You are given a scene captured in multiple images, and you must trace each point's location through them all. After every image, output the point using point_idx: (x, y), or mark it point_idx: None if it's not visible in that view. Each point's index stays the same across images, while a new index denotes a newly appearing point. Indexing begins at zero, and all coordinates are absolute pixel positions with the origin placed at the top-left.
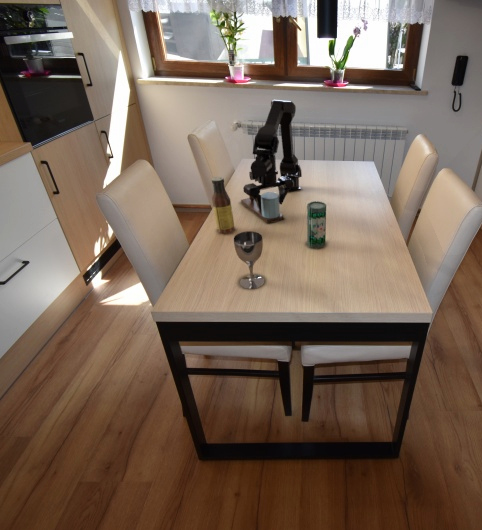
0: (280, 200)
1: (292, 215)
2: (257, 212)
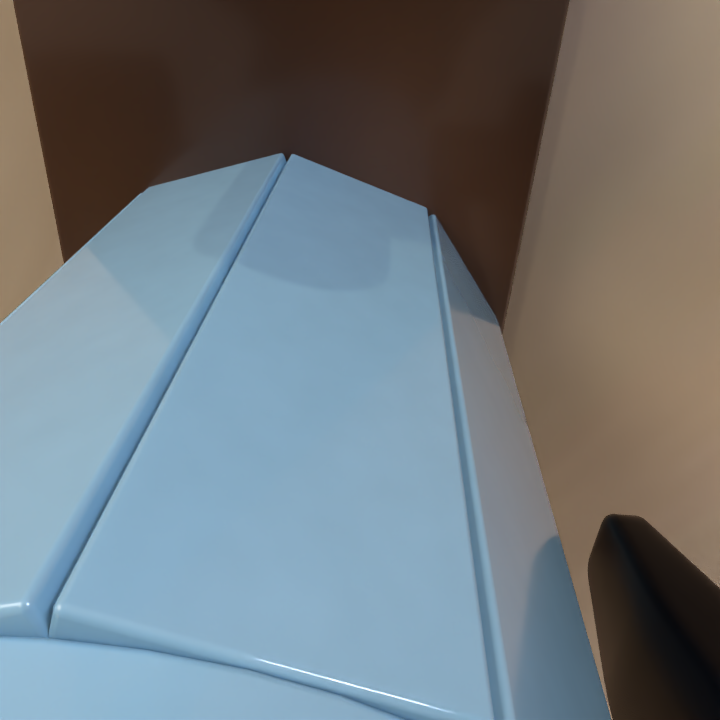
0: (634, 681)
1: (695, 458)
2: (24, 54)
